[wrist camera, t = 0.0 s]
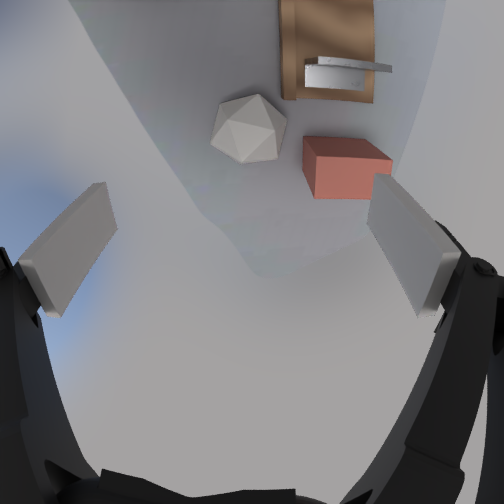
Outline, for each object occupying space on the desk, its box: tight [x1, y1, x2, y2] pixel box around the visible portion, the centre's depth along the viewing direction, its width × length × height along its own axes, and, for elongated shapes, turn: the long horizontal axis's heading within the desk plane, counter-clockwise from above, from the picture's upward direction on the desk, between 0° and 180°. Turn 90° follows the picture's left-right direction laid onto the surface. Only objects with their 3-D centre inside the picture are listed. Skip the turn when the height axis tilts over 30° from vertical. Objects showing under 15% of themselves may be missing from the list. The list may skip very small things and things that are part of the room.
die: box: [210, 94, 287, 165], centre depth 35 cm, size 8×9×10 cm
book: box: [302, 136, 393, 200], centre depth 36 cm, size 5×9×10 cm, turn 92°
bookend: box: [305, 56, 392, 91], centre depth 29 cm, size 4×8×9 cm, turn 92°
